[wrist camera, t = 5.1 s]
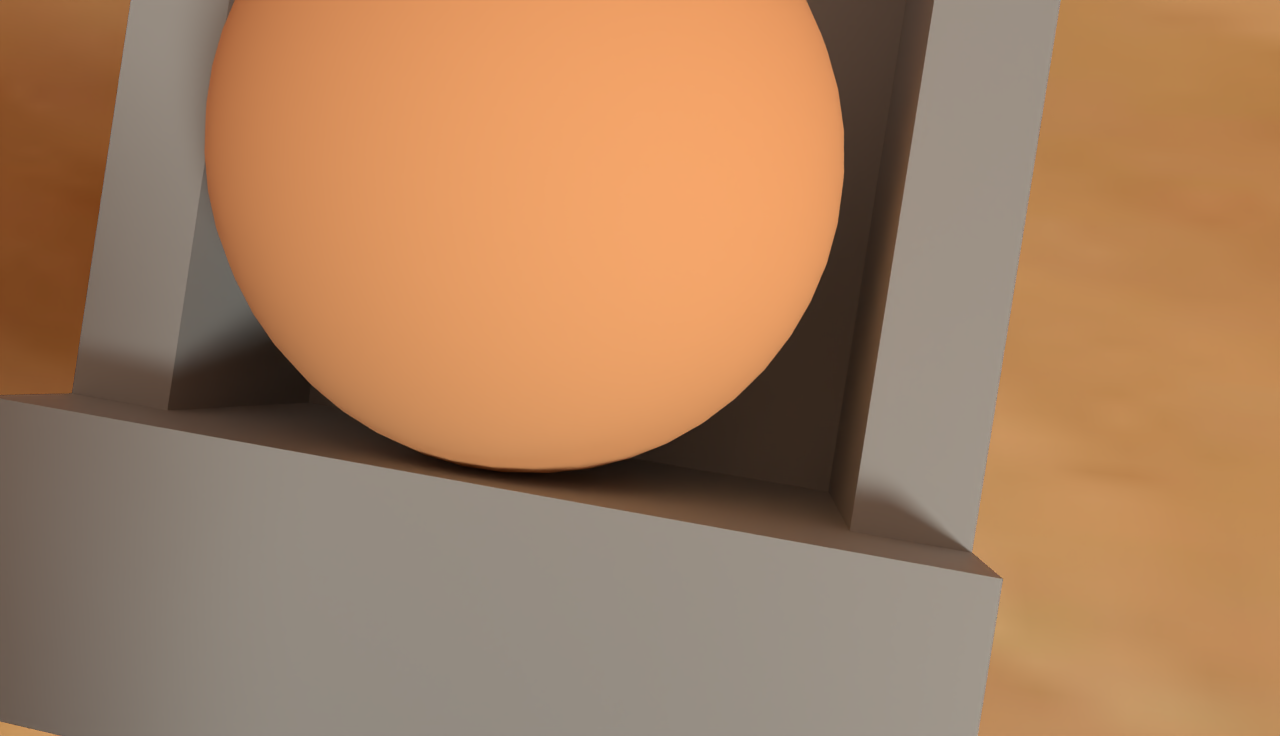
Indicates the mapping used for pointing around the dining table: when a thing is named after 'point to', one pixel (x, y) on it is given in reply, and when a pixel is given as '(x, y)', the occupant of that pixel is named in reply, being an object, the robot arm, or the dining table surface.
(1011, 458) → the dining table surface
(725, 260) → the ball
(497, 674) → the lever
